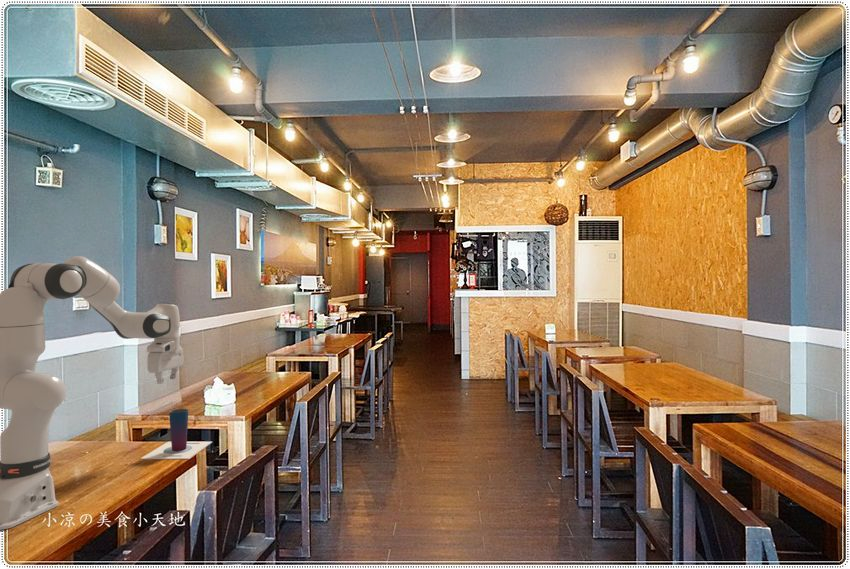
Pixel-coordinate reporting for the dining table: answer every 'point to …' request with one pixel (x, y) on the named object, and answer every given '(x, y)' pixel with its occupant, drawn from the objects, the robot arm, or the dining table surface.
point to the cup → (178, 428)
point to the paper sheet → (167, 452)
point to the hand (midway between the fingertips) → (166, 381)
